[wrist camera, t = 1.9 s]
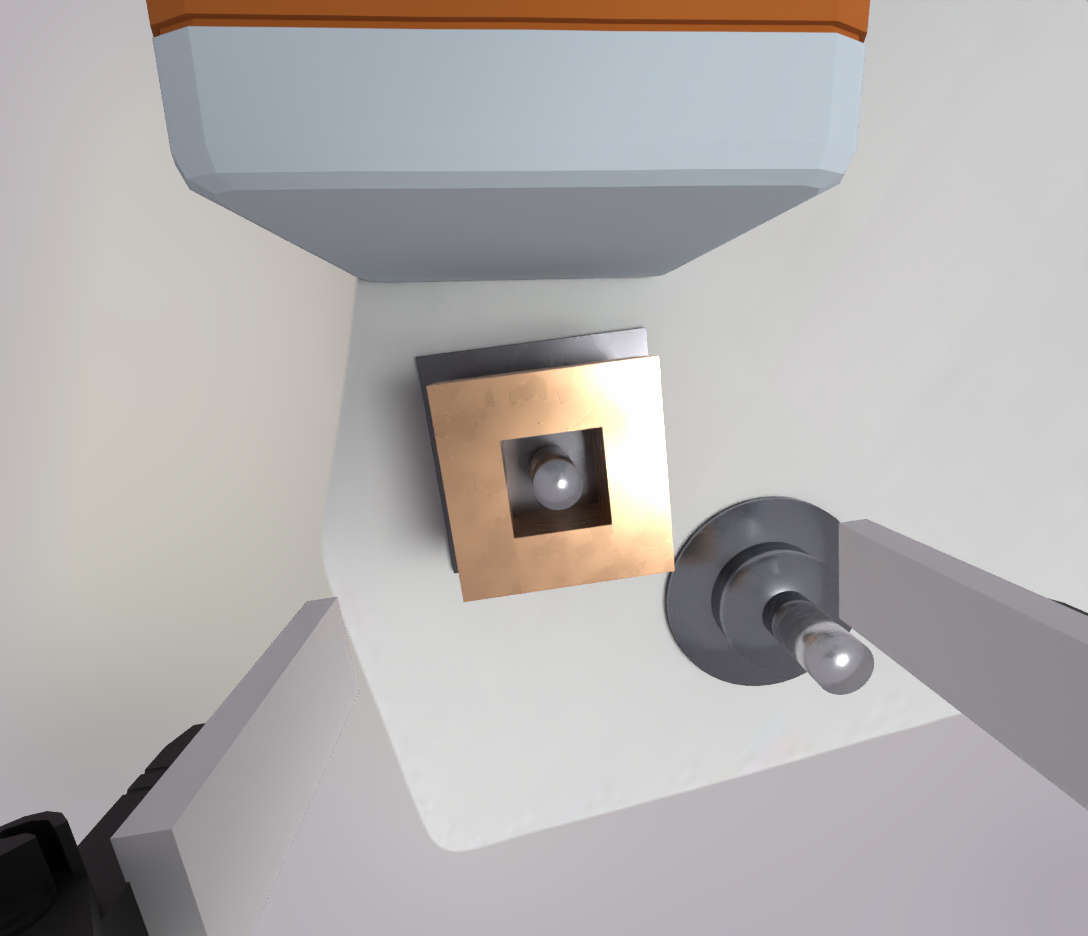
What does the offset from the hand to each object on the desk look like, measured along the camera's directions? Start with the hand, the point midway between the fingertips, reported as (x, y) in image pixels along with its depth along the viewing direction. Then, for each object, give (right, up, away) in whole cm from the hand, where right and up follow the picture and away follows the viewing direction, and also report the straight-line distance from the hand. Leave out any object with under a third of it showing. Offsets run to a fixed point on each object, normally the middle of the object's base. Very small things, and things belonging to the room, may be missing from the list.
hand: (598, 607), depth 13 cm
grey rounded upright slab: (-3, +19, +17) cm, 26 cm away
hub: (+14, -5, +23) cm, 27 cm away
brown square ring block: (-1, +4, +16) cm, 16 cm away
